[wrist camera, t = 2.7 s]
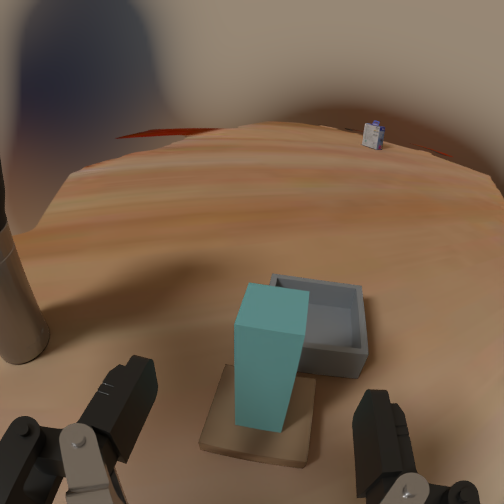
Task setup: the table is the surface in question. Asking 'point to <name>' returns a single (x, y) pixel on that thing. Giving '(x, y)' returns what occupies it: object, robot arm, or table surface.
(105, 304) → the table surface
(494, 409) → the table surface
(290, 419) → the walnut stud block
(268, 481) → the table surface
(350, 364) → the charcoal bin
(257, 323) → the teal strut
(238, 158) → the table surface
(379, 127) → the ink cartridge box
